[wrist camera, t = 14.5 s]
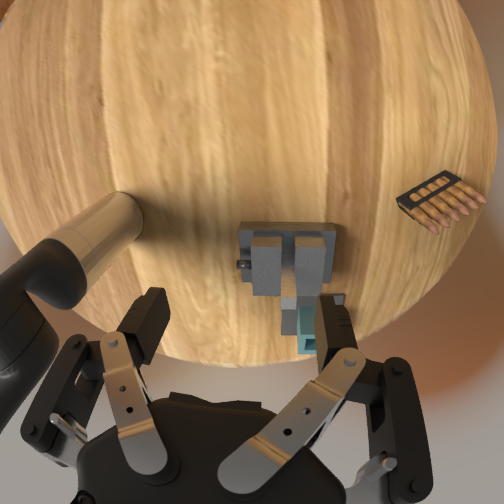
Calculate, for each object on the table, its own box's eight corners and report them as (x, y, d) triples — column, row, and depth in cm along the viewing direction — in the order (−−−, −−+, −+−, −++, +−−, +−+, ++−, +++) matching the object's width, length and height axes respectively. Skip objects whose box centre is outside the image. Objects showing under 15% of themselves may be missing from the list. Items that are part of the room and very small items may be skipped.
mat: (281, 333, 52) (281, 335, 52) (282, 293, 47) (282, 295, 47) (335, 332, 51) (335, 334, 50) (343, 293, 46) (344, 295, 46)
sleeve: (296, 326, 50) (297, 353, 44) (298, 306, 48) (300, 334, 42) (322, 326, 50) (326, 353, 44) (326, 306, 47) (330, 334, 41)
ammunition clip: (445, 169, 33) (490, 193, 23) (448, 179, 34) (492, 205, 23) (395, 198, 37) (431, 231, 26) (399, 208, 38) (434, 243, 27)
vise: (243, 271, 46) (230, 328, 34) (239, 222, 41) (223, 270, 30) (327, 272, 44) (340, 329, 33) (332, 222, 40) (352, 271, 28)
